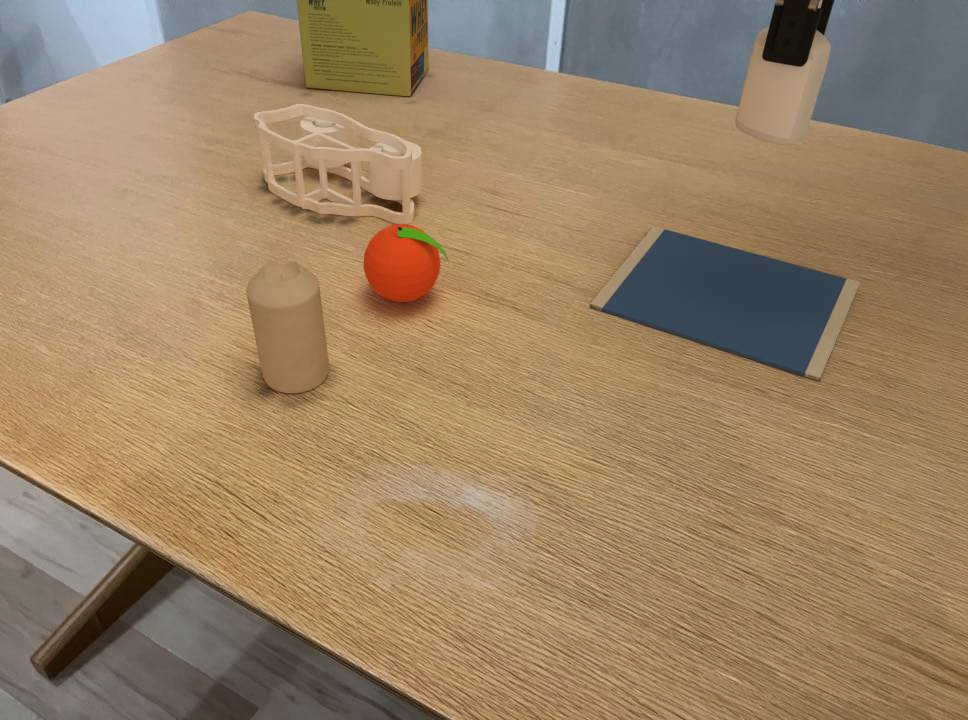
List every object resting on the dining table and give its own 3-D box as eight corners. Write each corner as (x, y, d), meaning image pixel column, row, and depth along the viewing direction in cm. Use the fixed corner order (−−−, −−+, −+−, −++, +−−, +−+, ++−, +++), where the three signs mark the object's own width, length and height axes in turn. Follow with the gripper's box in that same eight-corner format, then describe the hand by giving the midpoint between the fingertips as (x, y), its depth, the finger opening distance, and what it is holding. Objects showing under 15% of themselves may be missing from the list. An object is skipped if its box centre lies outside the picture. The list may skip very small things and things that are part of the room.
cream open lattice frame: (444, 205, 89) (444, 140, 84) (369, 245, 83) (364, 177, 78) (323, 150, 99) (317, 89, 94) (249, 182, 93) (238, 118, 88)
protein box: (412, 97, 111) (409, -29, 100) (304, 88, 113) (290, -35, 103) (430, 69, 118) (429, -51, 108) (328, 61, 121) (317, -56, 110)
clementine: (461, 284, 77) (462, 216, 73) (436, 326, 72) (436, 256, 68) (382, 269, 79) (378, 202, 75) (353, 309, 75) (347, 240, 70)
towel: (859, 285, 76) (860, 281, 76) (818, 381, 66) (820, 377, 66) (653, 229, 84) (653, 225, 84) (589, 307, 74) (590, 303, 74)
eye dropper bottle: (759, 151, 65) (803, -13, 57) (728, 122, 69) (765, -34, 61) (810, 145, 66) (861, -17, 58) (776, 117, 70) (819, -38, 62)
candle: (249, 372, 68) (228, 270, 61) (302, 343, 71) (287, 242, 64) (290, 403, 65) (272, 299, 58) (343, 372, 68) (332, 269, 61)
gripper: (917, -237, 44) (815, 100, 57) (959, -259, 55) (864, 29, 67) (776, -241, 47) (708, 79, 60) (840, -262, 58) (771, 15, 70)
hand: (792, 50), depth 63 cm, fingers closed on eye dropper bottle, 3 cm apart
